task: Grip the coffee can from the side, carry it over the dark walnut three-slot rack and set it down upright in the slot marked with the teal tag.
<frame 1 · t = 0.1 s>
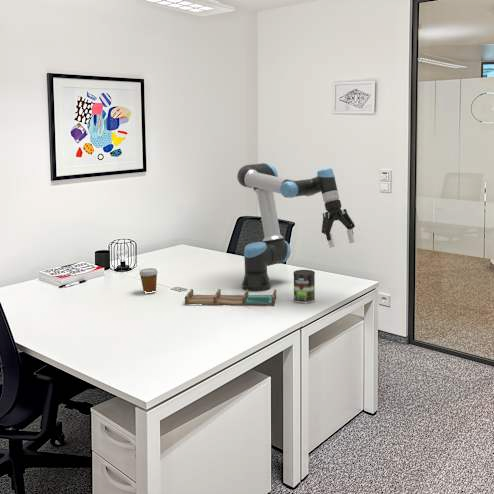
hand: (342, 245, 278), 28 cm above the table, tool tilted 20°, fingers open, 13 cm apart
disposable coffee cup: (149, 292, 311), on the table
coffee can: (304, 300, 289), on the table
slot rack: (231, 301, 291), on the table
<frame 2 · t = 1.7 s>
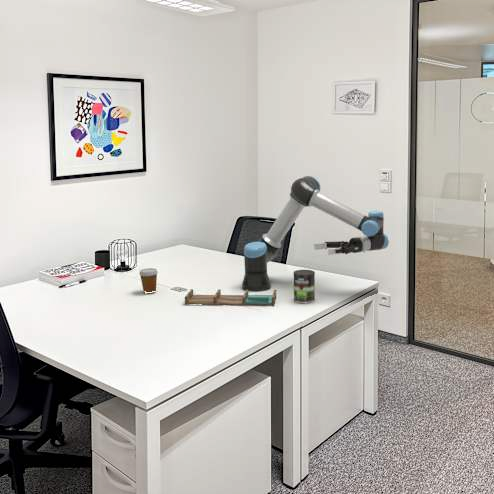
hand: (321, 249, 287), 24 cm above the table, tool horizontal, fingers open, 13 cm apart
nothing on the table moved.
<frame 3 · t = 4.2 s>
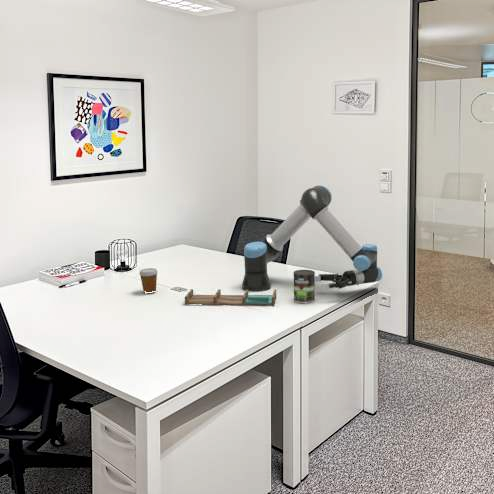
hand: (315, 283, 289), 8 cm above the table, tool horizontal, fingers open, 13 cm apart
nothing on the table moved.
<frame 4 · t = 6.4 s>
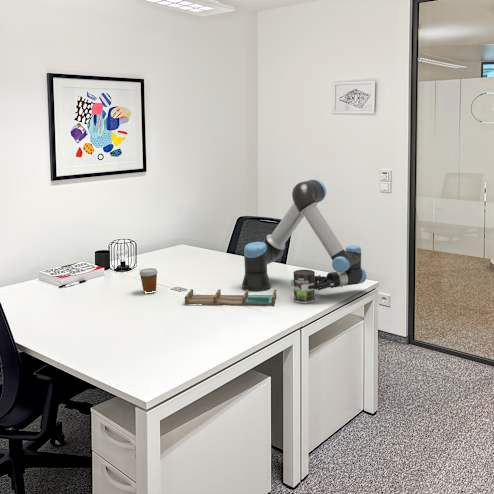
hand: (296, 285, 286), 8 cm above the table, tool horizontal, fingers closed on coffee can, 10 cm apart
coffee can: (304, 300, 289), on the table, touching gripper
everything else where it was.
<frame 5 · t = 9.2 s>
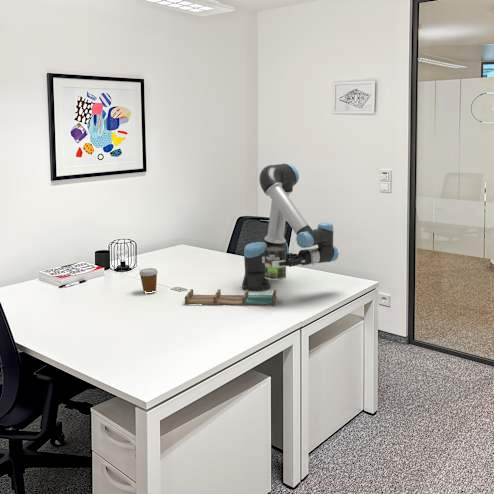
hand: (267, 262, 281), 20 cm above the table, tool horizontal, fingers closed on coffee can, 10 cm apart
coffee can: (275, 277, 285), point 12 cm above the table, touching gripper
everything else where it was.
when the fingers open (10 cm above the table, at t = 12.1 s): coffee can drops 1 cm, resting on slot rack.
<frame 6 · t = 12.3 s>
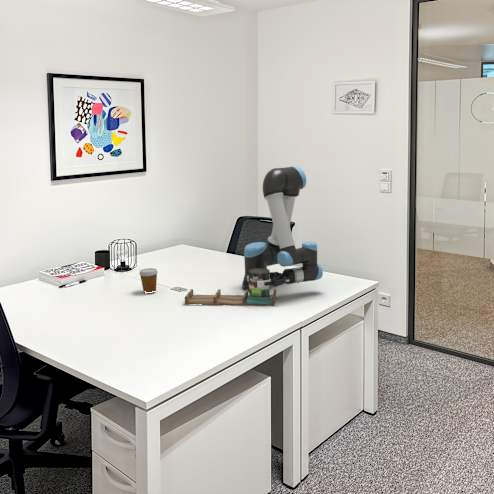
hand: (252, 281, 286), 10 cm above the table, tool horizontal, fingers open, 12 cm apart
coffee can: (259, 299, 289), point 1 cm above the table, touching slot rack
everything else where it was.
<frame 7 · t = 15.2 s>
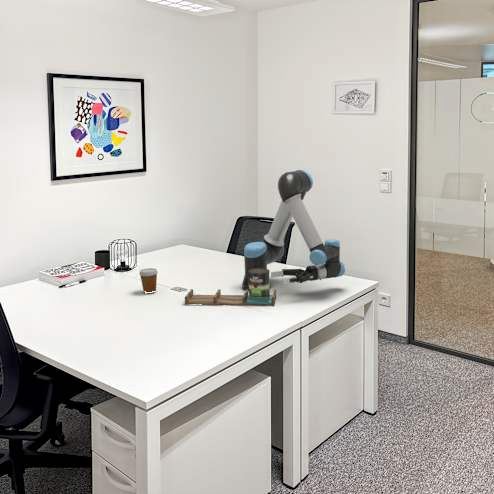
hand: (276, 277, 291), 11 cm above the table, tool horizontal, fingers open, 13 cm apart
nothing on the table moved.
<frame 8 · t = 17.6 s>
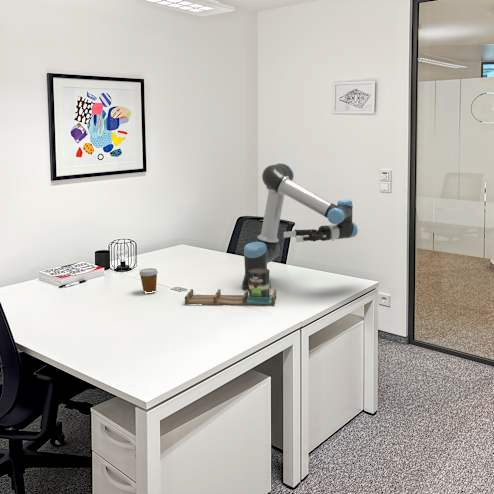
hand: (290, 237, 290), 30 cm above the table, tool horizontal, fingers open, 13 cm apart
nothing on the table moved.
at the end: coffee can inside the target area on the slot rack (0.1 cm from its centre), point 1.1 cm above the slot rack's base; coffee can tilted 0°; the gripper is holding nothing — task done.
